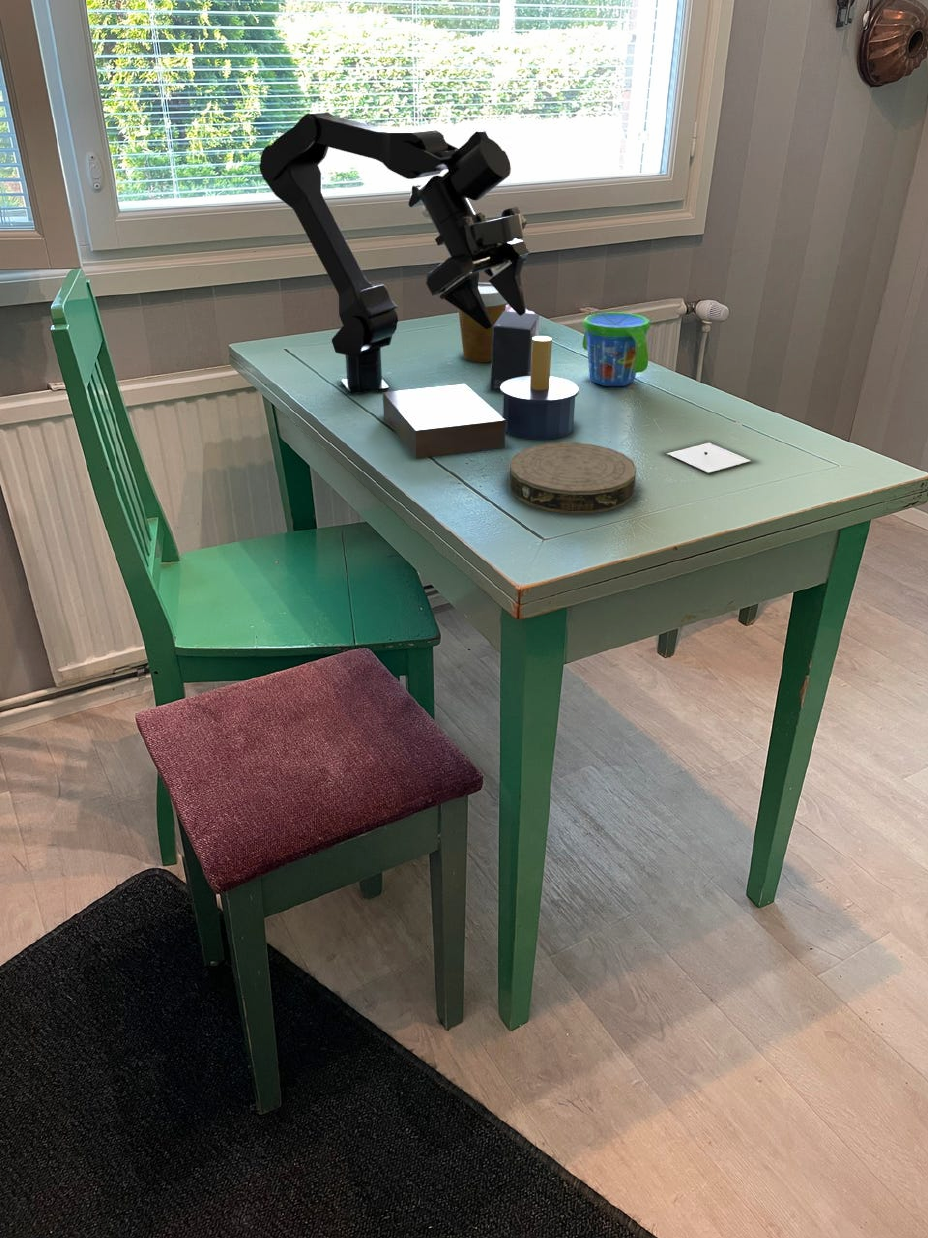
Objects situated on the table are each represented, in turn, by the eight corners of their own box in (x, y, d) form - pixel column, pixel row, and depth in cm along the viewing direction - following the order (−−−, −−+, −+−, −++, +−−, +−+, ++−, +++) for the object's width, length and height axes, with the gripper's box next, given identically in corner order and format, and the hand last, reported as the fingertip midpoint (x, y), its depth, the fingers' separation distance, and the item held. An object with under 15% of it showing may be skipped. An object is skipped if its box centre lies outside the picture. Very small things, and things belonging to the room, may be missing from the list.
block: (383, 418, 141) (382, 392, 139) (465, 409, 145) (465, 383, 143) (416, 458, 127) (415, 430, 125) (505, 447, 131) (505, 419, 129)
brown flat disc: (653, 507, 114) (656, 485, 113) (527, 519, 111) (528, 495, 110) (609, 459, 128) (611, 438, 126) (495, 468, 125) (496, 446, 123)
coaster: (751, 460, 127) (752, 455, 127) (708, 472, 123) (709, 467, 123) (708, 442, 133) (709, 437, 132) (666, 453, 129) (667, 448, 129)
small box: (529, 394, 151) (531, 328, 145) (489, 391, 152) (490, 326, 146) (537, 375, 160) (540, 312, 154) (500, 372, 161) (501, 309, 155)
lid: (488, 387, 138) (490, 331, 134) (558, 379, 142) (562, 325, 137) (517, 411, 129) (519, 352, 125) (591, 402, 133) (596, 345, 128)
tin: (492, 419, 141) (493, 383, 138) (555, 412, 144) (557, 377, 141) (518, 443, 132) (519, 405, 130) (584, 435, 135) (587, 398, 133)
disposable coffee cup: (517, 354, 170) (519, 286, 164) (490, 367, 163) (491, 296, 157) (472, 346, 174) (473, 279, 168) (444, 359, 167) (444, 289, 161)
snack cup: (563, 370, 162) (566, 310, 156) (617, 365, 165) (622, 305, 160) (604, 398, 149) (610, 334, 144) (662, 391, 152) (670, 328, 147)
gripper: (456, 194, 119) (514, 306, 122) (529, 179, 132) (580, 281, 135) (400, 240, 127) (455, 345, 129) (475, 222, 140) (524, 317, 143)
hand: (506, 320), depth 134 cm, fingers open, 9 cm apart
